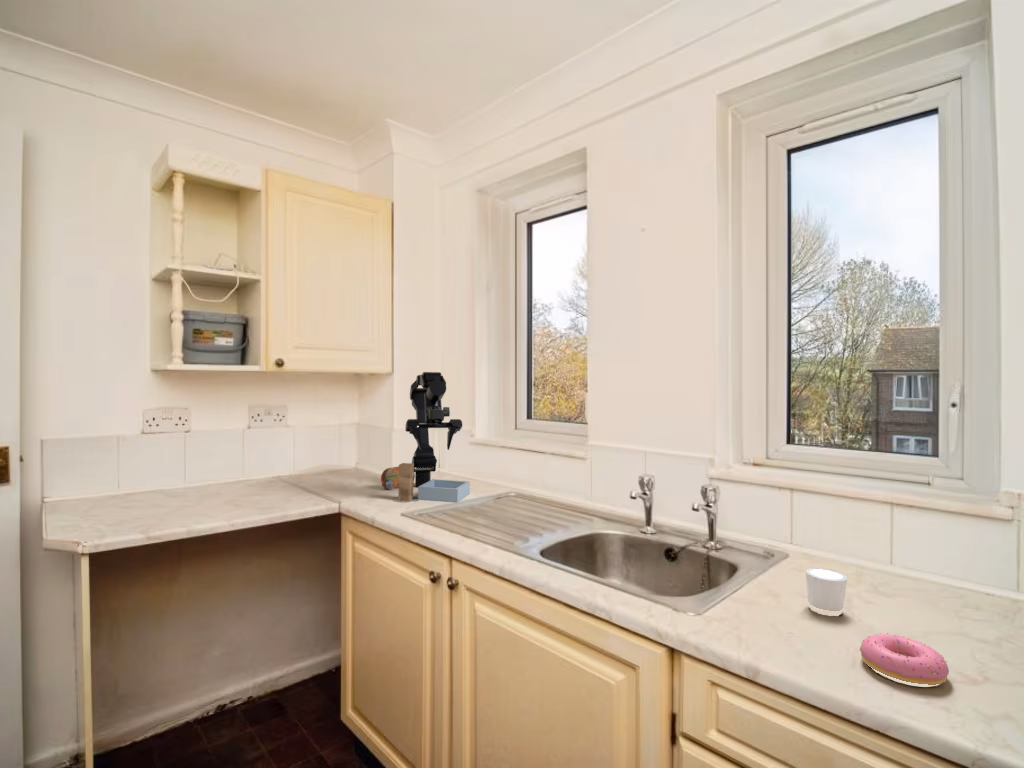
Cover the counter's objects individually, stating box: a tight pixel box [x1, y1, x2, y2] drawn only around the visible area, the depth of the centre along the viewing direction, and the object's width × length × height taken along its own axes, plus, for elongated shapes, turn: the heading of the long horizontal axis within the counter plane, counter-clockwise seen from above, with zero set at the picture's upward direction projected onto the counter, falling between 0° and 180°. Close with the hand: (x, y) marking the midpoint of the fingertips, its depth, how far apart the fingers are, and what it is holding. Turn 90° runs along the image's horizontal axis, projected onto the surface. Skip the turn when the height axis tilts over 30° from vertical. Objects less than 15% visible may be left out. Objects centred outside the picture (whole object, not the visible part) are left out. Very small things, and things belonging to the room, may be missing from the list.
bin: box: [417, 478, 471, 503], centre depth 192 cm, size 14×14×5 cm
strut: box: [397, 462, 415, 501], centre depth 186 cm, size 4×4×12 cm
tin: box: [380, 465, 415, 491], centre depth 206 cm, size 15×3×8 cm, turn 145°
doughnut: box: [859, 632, 950, 685], centre depth 83 cm, size 11×11×4 cm
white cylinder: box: [805, 567, 848, 611], centre depth 104 cm, size 7×7×7 cm
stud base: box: [392, 496, 419, 504], centre depth 186 cm, size 9×9×3 cm
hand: (434, 449), depth 184 cm, fingers open, 9 cm apart
